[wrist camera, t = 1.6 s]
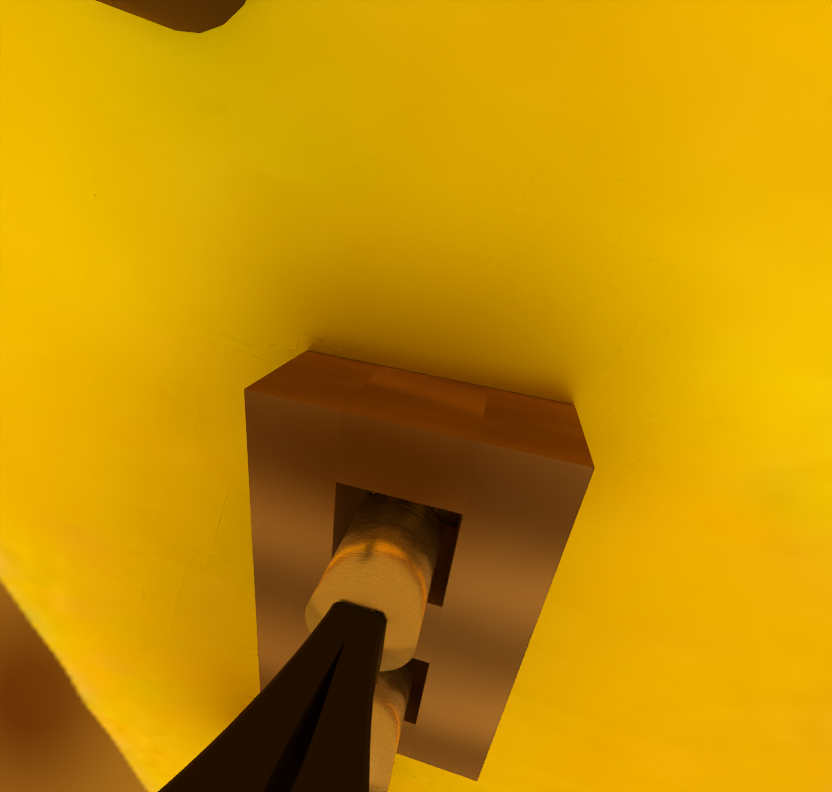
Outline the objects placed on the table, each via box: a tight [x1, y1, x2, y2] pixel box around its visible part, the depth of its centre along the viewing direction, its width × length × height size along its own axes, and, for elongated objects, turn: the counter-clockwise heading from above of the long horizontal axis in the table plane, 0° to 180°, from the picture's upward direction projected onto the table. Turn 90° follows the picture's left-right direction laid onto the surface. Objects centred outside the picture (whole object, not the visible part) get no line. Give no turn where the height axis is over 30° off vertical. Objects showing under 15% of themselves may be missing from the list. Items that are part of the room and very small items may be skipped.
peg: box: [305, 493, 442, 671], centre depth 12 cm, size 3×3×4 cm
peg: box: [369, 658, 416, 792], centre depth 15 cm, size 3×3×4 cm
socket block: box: [244, 351, 595, 781], centre depth 16 cm, size 16×10×4 cm, turn 172°
